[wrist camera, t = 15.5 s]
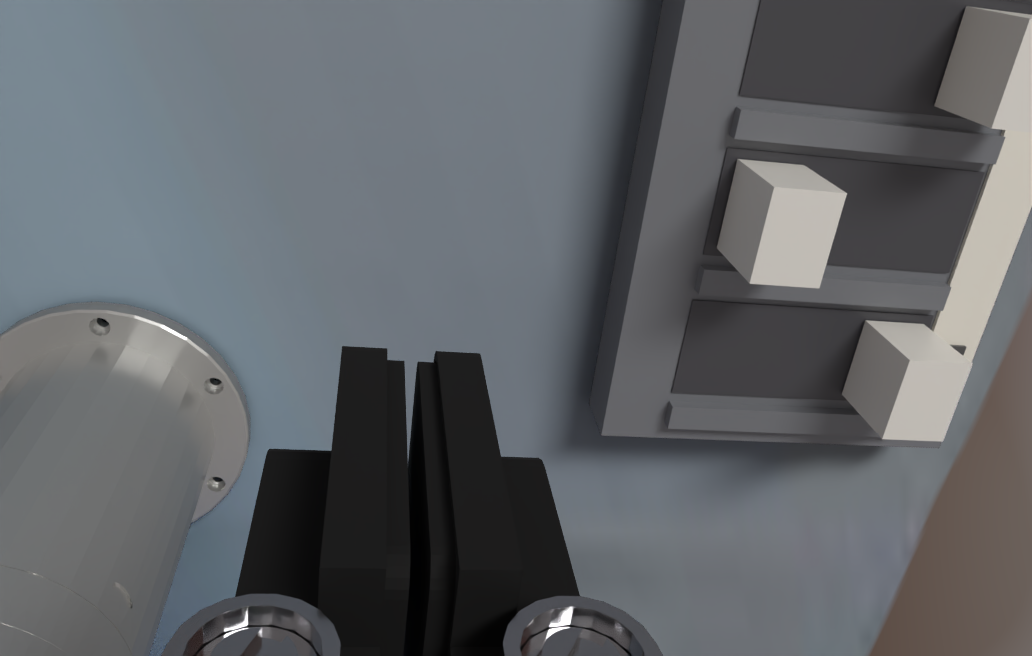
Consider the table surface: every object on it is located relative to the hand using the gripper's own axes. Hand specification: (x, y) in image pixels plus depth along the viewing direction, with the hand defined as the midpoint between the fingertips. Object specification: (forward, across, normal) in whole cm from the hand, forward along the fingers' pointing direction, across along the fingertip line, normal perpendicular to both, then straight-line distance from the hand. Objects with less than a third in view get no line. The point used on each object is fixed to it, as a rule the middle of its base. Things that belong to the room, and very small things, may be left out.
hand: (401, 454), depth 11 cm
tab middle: (+26, -16, +4) cm, 31 cm away
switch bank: (+29, -20, +4) cm, 35 cm away
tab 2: (+26, -24, -3) cm, 35 cm away
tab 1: (+26, -24, +11) cm, 37 cm away
